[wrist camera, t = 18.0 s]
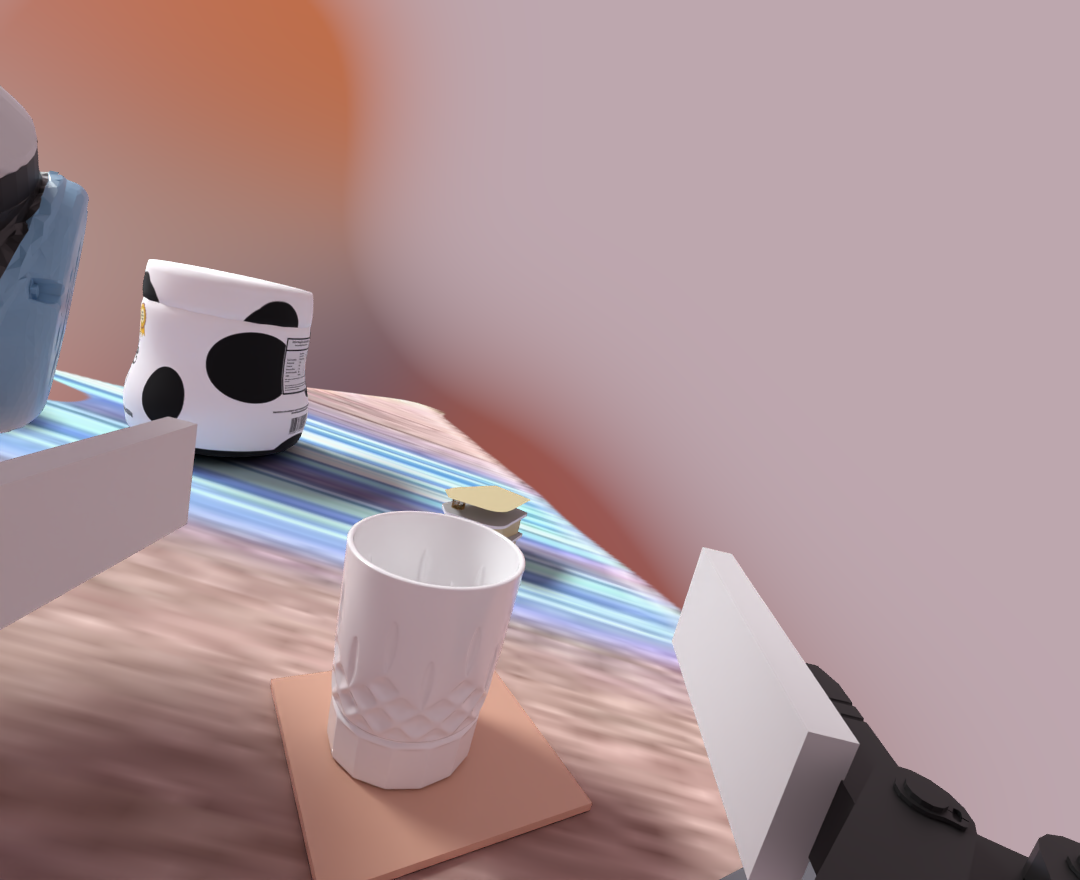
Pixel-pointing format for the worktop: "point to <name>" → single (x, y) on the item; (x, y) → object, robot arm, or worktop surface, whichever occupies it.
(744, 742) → the robot arm
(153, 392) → the milk container
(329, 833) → the coaster
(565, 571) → the worktop surface
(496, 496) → the stacked layers on plate
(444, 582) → the white cup
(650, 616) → the worktop surface
